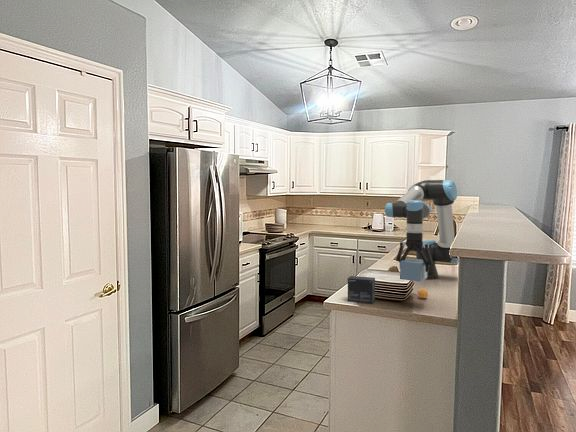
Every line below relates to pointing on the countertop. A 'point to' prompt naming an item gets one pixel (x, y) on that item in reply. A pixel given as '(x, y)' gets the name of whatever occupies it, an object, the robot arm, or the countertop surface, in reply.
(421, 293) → the ball
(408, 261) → the grey-blue square block
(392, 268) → the rock
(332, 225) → the countertop surface
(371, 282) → the small box
